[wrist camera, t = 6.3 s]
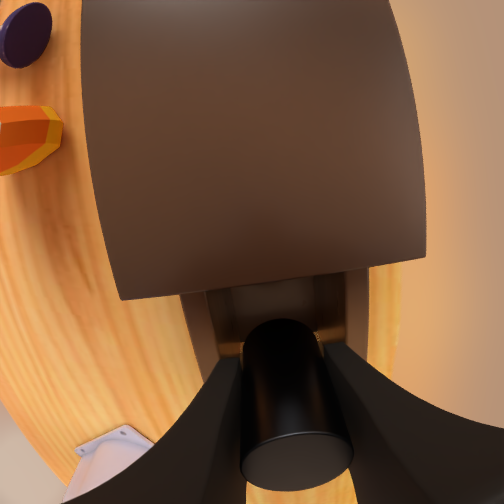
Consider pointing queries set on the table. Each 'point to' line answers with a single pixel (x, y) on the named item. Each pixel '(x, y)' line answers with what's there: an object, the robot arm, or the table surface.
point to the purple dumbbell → (25, 35)
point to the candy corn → (27, 136)
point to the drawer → (278, 313)
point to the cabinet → (249, 141)
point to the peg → (289, 411)
